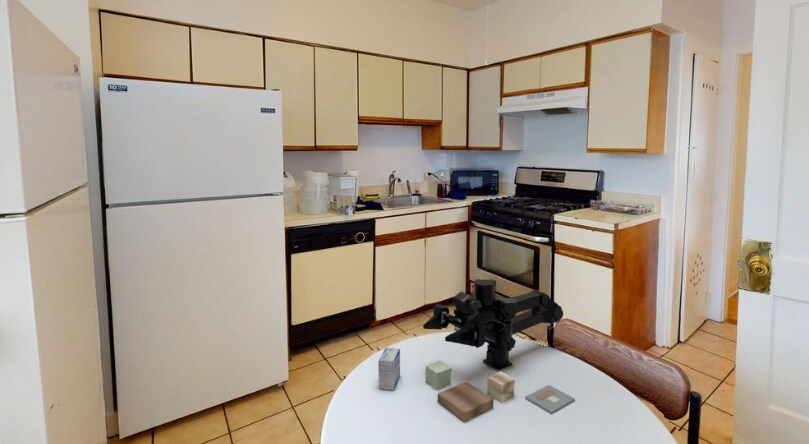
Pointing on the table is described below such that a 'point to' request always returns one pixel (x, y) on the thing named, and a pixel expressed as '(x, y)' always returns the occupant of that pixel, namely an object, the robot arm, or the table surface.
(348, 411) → the table surface
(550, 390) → the slate card
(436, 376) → the sage cube
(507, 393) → the birch cube
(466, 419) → the walnut block
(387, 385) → the medicine box
